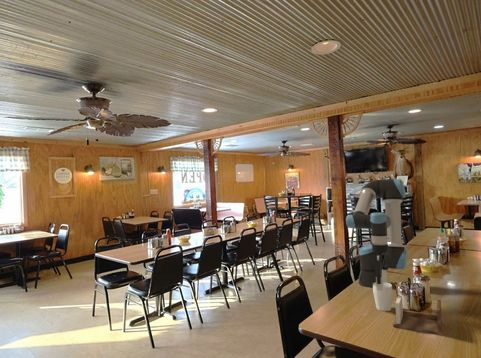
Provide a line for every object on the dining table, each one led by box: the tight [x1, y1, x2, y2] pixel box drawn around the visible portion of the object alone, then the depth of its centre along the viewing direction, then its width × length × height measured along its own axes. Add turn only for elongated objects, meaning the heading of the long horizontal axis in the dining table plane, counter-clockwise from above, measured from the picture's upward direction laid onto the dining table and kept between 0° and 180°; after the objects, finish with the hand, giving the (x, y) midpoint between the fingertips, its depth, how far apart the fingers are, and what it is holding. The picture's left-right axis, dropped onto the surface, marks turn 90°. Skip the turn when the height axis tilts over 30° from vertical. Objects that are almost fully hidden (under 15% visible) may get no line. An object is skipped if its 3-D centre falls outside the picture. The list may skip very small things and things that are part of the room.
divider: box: [394, 295, 404, 324], centre depth 147 cm, size 2×11×9 cm, turn 147°
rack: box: [392, 299, 443, 336], centre depth 143 cm, size 18×13×10 cm
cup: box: [372, 282, 393, 312], centre depth 163 cm, size 9×9×12 cm
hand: (382, 286), depth 163 cm, fingers open, 13 cm apart
